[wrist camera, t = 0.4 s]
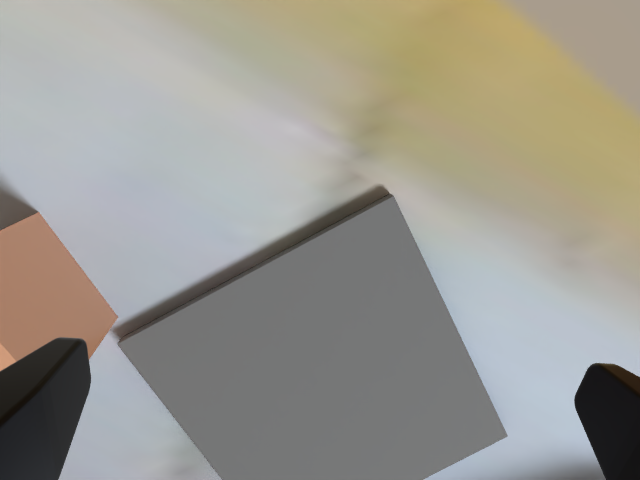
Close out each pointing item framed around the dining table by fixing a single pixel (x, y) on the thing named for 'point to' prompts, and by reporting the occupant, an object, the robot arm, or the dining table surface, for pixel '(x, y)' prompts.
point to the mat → (323, 363)
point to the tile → (45, 293)
